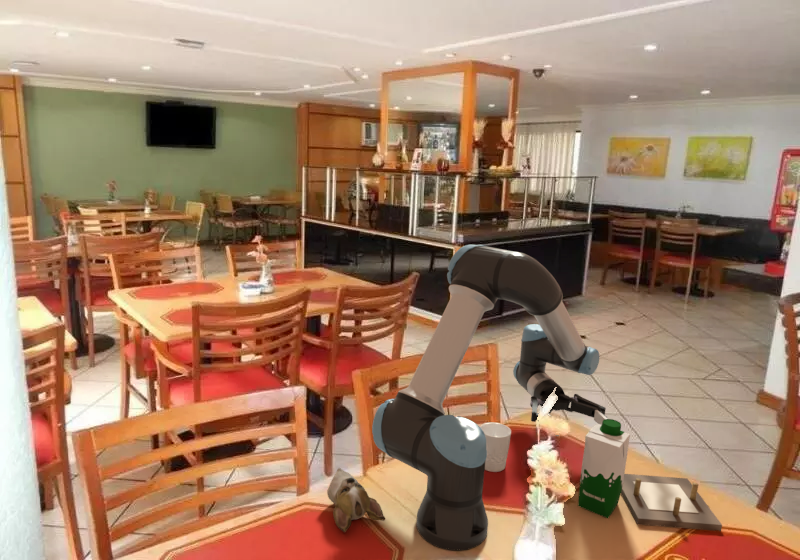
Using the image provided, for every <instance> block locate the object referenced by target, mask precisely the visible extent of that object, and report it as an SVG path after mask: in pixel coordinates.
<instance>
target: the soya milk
mask: <svg viewBox="0 0 800 560" xmlns="http://www.w3.org/2000/svg"><path fill="white" fill-rule="evenodd" d="M621 429H622V424H621V422H620V421H618V420H616V419H613V418H607V419H604V420H603V422H602V425H600V424H598V423H596V424H595V425H594V426H592V427H591V429H589V431H588V432H587V434H586V435H585V436H584V437H585V440H584V449H583V455H582V462H581V463H582V464H581V471H580V479H579V488H578V489H579V490H578V498H577V499H578V500H577V501H578V502H577V507H579V508H582V509H584V510H587V511H588V512H591V513H594V514H596V515H599V516H601V517H604V518H605V519H609V518H610V516H611V515H612V513H613V512H614V511H615V509H616V507H617V506H618V504H619V501H620V497H621V496H622V494H621V491H622V486H623V479H624V474H626V471H625V470H626V466H627V459H628V451H629V445H630V444H629V443H630V437H631V434H630V433H627V432H625V431H623V430H621Z"/></svg>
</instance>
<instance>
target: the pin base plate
mask: <svg viewBox="0 0 800 560" xmlns="http://www.w3.org/2000/svg"><path fill="white" fill-rule="evenodd" d="M698 489H699V484H698V483H697V482H691V481H690V480H689V479H688V478H685V477H673V476H660V475H646V474H645V475H644V474H635V473H634V474H631V473H624V479H623V486H622V491H621V496H622V499H623V501H624V502H625V504H626V506H627V507H628V510H629V511H630V513H631V516H632V517H633V519H634V520H635V523H636V525H641V526H653V527H665V528H678V529H692V530H703V531H704V530H705V531H715V530H719V531H718V532H722V528H723V524H722V523H721V521H720V520H719V518H718V517H717V516H716V515H715V513H714V512H713V511H712V509H711V508H710V507H709V505H708V504H707V503H706V501H705V499H704V498H703V497H702V496H701V495H700V494H699V491H698Z"/></svg>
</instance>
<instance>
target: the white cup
mask: <svg viewBox="0 0 800 560" xmlns="http://www.w3.org/2000/svg"><path fill="white" fill-rule="evenodd" d="M479 427H480V428H481V429H482V430H483V432H484V434H485V437H486V450H487V457H486V461H485V471H488V472H493V473H497V472H501V471H503V470H505V468H506V465H507V458H508V455H509V450H510V443H511V435H512V429H511V428H510V427H509V426H508V425H505V424H503V423H499V422H491V421H490V422H484V423H482V424H481V425H479Z"/></svg>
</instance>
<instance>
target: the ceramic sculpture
mask: <svg viewBox="0 0 800 560" xmlns="http://www.w3.org/2000/svg"><path fill="white" fill-rule="evenodd" d="M368 494H369V493H368V492H367V491H366V489H365V487H364V486H363V485H362V484H361V483H360V482H359V481H358V479H356V478H355V477H354V476H353V475H351V474H350V472H347V471H345V470H343V469H342V468H340V467H338V468H337V470H336V472H335V474H334V475H333V477H332V479H331V481H330V483H329V486H328V489H327V498H328V499H329V500H330V502H331V503H333V504H334V505H335V507H334V508H333V511H332V514H333V520H334V523H335V524H336V525H335V526H336V527H337V528H338V529H339V530H340V531H342V532H343V533H346V532H348V529H349V528H350V527H351V526H352V525H351V524H352V521H354V520H358V519H360V518H362V517H364V516H365V514H367V516H368V518H369V519H371V520H374V521H386V517H385V515H384V513H383V510H382V507H381V505H380V504H379V503H378V501H377V500H376V499H375V498H373V497H370V495H368Z"/></svg>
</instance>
